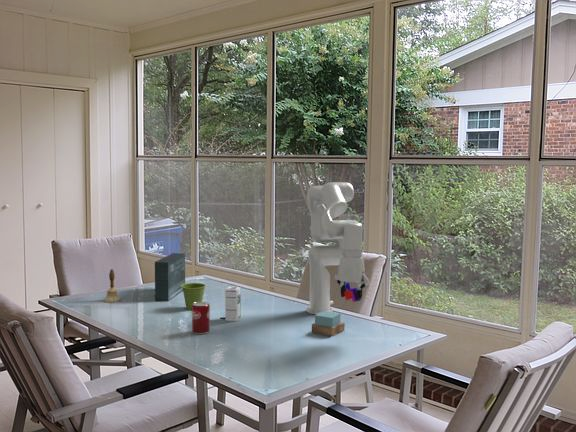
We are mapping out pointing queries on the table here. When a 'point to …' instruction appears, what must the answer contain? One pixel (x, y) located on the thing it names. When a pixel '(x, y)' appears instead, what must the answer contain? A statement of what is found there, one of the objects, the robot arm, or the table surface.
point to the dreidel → (350, 293)
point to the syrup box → (232, 303)
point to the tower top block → (327, 319)
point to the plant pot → (193, 293)
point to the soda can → (200, 317)
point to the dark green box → (169, 276)
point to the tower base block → (328, 329)
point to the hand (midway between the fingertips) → (351, 297)
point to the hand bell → (112, 290)
